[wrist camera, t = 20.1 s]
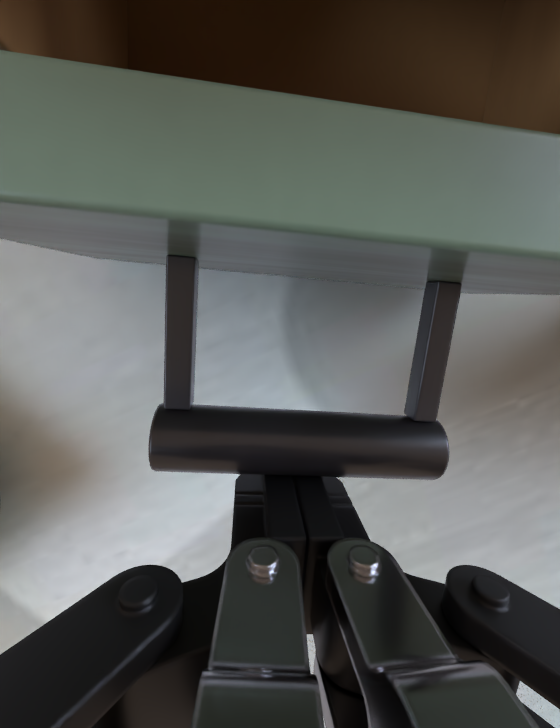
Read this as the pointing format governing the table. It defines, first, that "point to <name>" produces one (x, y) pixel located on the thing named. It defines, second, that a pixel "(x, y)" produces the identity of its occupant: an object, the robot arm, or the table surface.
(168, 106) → the drawer
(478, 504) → the table surface
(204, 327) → the table surface
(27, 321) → the table surface
